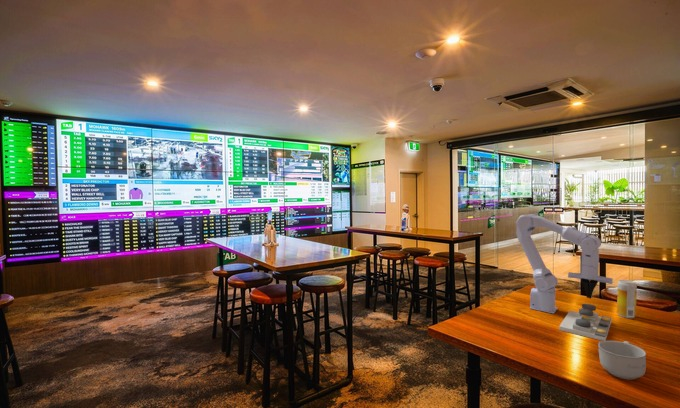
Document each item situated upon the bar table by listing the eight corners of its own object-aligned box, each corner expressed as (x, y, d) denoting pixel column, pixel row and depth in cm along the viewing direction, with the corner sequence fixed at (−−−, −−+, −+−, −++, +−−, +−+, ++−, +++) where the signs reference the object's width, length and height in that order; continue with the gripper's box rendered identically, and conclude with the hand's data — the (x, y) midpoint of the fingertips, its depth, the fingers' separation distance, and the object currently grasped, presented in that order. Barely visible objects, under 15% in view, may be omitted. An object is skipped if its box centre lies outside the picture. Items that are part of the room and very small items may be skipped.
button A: (574, 328, 125) (574, 321, 125) (576, 324, 128) (576, 318, 128) (589, 332, 122) (589, 325, 121) (591, 328, 125) (591, 321, 125)
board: (559, 330, 127) (559, 322, 127) (569, 313, 143) (569, 307, 143) (605, 341, 117) (605, 333, 117) (611, 322, 133) (611, 315, 133)
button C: (581, 312, 135) (581, 305, 135) (582, 309, 139) (582, 303, 139) (594, 315, 132) (595, 308, 132) (596, 312, 135) (596, 305, 135)
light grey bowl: (635, 388, 90) (635, 360, 90) (590, 369, 100) (590, 344, 99) (657, 374, 97) (657, 348, 96) (612, 358, 106) (613, 334, 106)
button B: (577, 317, 130) (578, 311, 130) (579, 314, 133) (579, 307, 133) (592, 320, 127) (592, 314, 127) (594, 317, 130) (594, 310, 130)
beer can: (628, 313, 143) (629, 279, 142) (639, 319, 136) (640, 283, 136) (613, 313, 143) (614, 279, 142) (623, 318, 137) (625, 283, 136)
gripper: (566, 264, 137) (566, 296, 137) (611, 269, 127) (610, 304, 127) (570, 261, 142) (569, 292, 142) (613, 266, 132) (612, 299, 132)
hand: (589, 297), depth 135 cm, fingers closed
